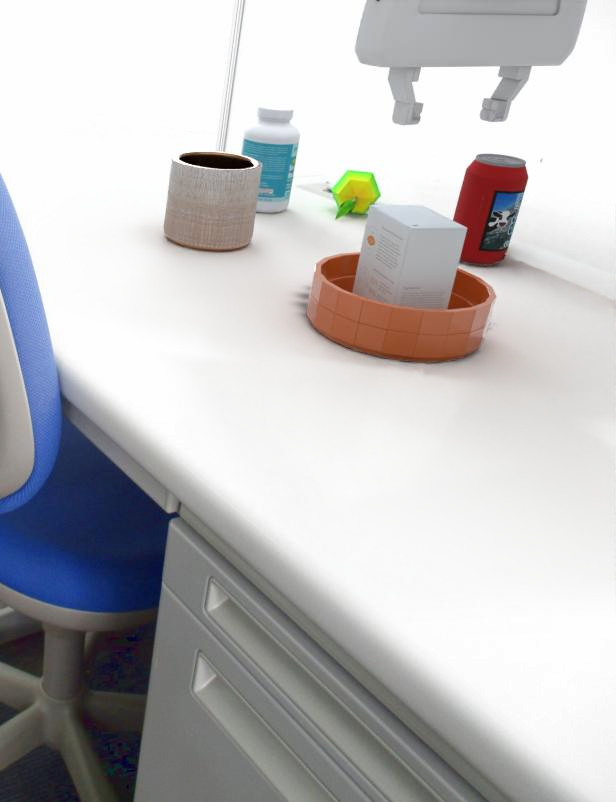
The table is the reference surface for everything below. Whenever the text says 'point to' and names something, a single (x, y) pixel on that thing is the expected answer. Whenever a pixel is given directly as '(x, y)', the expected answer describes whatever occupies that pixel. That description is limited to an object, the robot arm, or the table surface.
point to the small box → (409, 256)
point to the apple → (355, 192)
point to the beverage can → (490, 206)
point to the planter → (212, 200)
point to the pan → (398, 316)
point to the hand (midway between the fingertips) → (449, 122)
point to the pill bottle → (273, 155)
